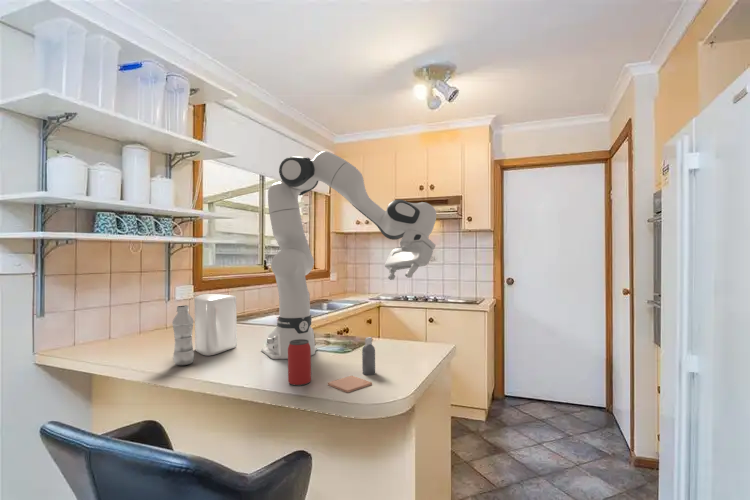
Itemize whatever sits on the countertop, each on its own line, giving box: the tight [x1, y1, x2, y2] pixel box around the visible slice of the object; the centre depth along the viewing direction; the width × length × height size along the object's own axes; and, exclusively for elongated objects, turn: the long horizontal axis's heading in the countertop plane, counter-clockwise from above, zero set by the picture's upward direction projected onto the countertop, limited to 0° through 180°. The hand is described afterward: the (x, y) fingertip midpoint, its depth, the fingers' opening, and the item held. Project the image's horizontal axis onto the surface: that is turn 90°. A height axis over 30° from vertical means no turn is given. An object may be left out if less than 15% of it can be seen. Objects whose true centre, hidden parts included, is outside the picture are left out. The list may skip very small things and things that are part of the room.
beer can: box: [287, 339, 312, 386], centre depth 117 cm, size 7×7×12 cm
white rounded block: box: [194, 293, 238, 356], centre depth 156 cm, size 15×14×22 cm
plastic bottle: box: [172, 304, 195, 366], centre depth 137 cm, size 6×7×20 cm
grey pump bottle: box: [361, 336, 376, 376], centre depth 125 cm, size 4×4×11 cm
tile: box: [327, 375, 373, 393], centre depth 115 cm, size 9×9×1 cm
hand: (399, 278), depth 135 cm, fingers open, 8 cm apart
